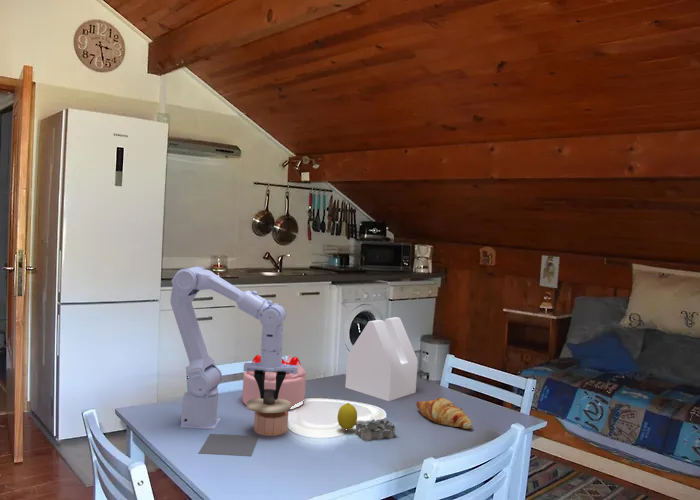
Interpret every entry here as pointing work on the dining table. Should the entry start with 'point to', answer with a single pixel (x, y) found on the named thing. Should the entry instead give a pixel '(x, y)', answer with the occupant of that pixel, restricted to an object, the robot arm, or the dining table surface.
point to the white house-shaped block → (382, 361)
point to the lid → (268, 403)
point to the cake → (289, 389)
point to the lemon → (347, 416)
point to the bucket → (271, 423)
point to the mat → (229, 445)
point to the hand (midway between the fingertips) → (269, 398)
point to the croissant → (444, 413)
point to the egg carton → (375, 429)
